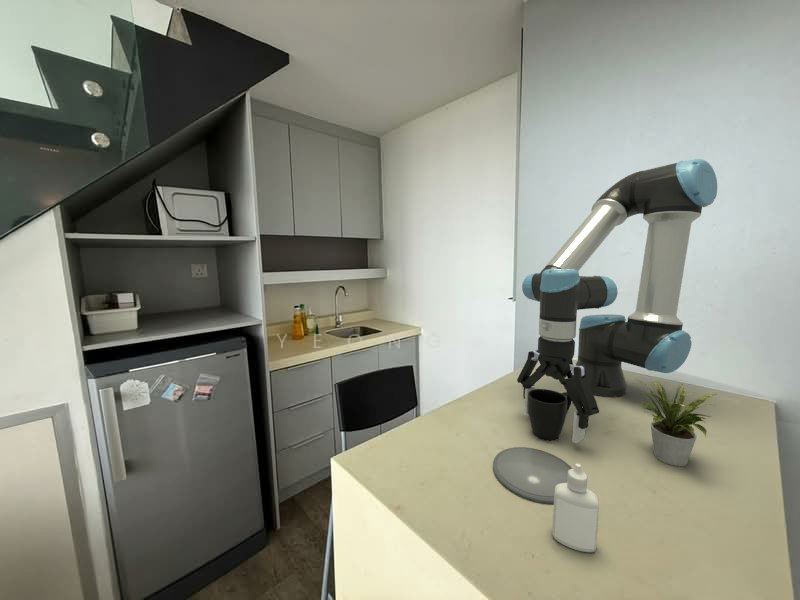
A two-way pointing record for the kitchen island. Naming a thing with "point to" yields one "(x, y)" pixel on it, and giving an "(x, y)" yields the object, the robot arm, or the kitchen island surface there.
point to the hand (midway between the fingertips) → (551, 425)
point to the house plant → (674, 426)
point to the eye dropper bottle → (575, 513)
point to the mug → (547, 412)
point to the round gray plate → (530, 473)
